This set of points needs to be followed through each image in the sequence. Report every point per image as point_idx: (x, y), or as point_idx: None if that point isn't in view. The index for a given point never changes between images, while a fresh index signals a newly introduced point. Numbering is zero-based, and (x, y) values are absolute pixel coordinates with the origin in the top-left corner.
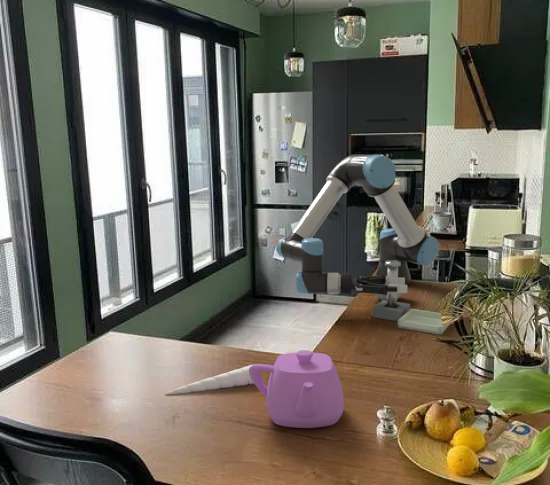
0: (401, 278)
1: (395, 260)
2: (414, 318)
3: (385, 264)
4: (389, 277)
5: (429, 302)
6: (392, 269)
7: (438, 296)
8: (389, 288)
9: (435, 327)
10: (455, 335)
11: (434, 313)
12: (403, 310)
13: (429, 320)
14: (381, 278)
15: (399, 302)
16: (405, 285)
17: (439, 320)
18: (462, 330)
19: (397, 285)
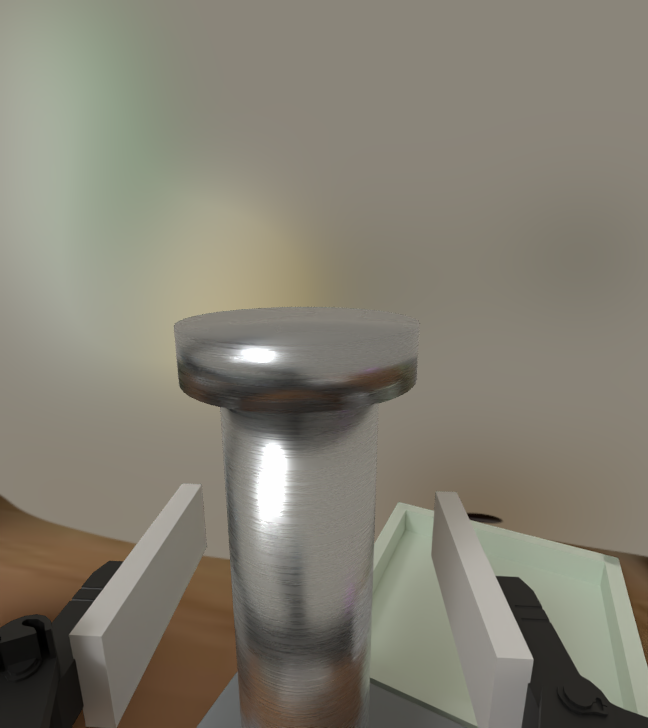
0: (189, 504)
1: (209, 313)
2: (424, 672)
3: (317, 390)
4: (361, 558)
5: (92, 559)
6: (377, 420)
7: (26, 517)
8: (570, 671)
9: (623, 581)
10: (571, 545)
11: (384, 552)
12: (419, 712)
13: (437, 598)
14: (43, 724)
15: (209, 712)
16: (460, 503)
17: (421, 559)
18: (491, 518)
19: (484, 557)
